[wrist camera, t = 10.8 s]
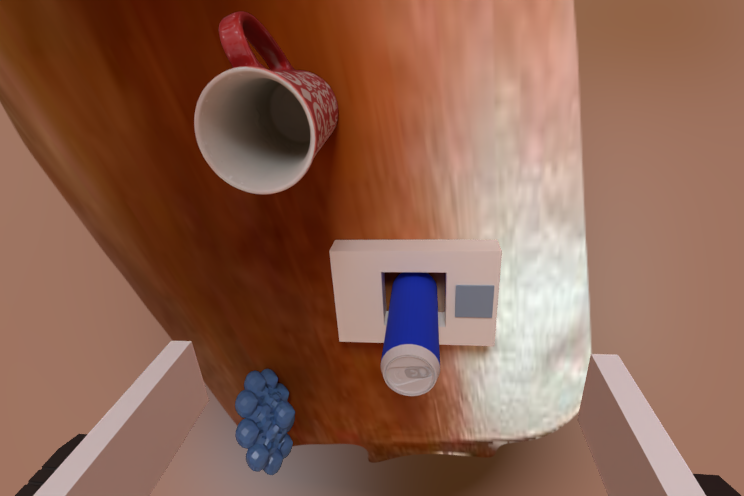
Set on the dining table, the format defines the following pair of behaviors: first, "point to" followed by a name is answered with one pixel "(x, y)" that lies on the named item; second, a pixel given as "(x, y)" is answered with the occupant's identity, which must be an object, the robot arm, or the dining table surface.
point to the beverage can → (412, 335)
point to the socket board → (453, 257)
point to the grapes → (264, 421)
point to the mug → (261, 113)
